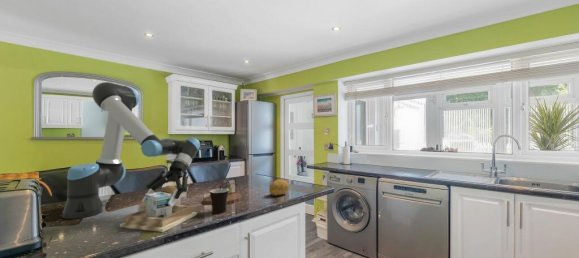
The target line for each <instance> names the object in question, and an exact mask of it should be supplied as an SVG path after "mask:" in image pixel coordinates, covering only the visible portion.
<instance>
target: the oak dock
mask: <svg viewBox="0 0 579 258" xmlns="http://www.w3.org/2000/svg"><path fill="white" fill-rule="evenodd" d="M193 208H194V207H193V206H191V205H179V204H174V205H173V207H172V214H171V215H169V216H166V217H164V218H154V217H146V208H144V209H141V210H138V211H136V212H132V213H129V214H126V215H125V217H124V218H125V221H124V222H123V223H120V224H119V228H125V229H134V230H140V231H141V230H144V231H151V232H152V231H153V232H161V233H163V232H165V231H167V230H169V229H171V228H174V227H175V226H177V225H179V224H181V223H184V222H185V221H188V220H189V219H191V218H193V217H195V216H197V215H198V212H197V211H193Z"/></svg>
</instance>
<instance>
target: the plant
mask: <svg viewBox="0 0 579 258" xmlns="http://www.w3.org/2000/svg"><path fill="white" fill-rule="evenodd" d="M225 183H226V180H225V179H223V180H222V182H221V184H219V185H217V186H216V187H215V189H228V199H227V205H231V204H233V205H234V204H235V203H238V202H240V200H241V197H242V193H238V192H236V191H235V192H234V191H233V192H231V191H232V185H230V184H228V185H225V186H224V184H225ZM228 187H229V188H228ZM230 189H231V190H230ZM203 204H204V205H211V206H212V204H211V196H210V194H209V195H208V196H207V195H206V196H205V197H203Z"/></svg>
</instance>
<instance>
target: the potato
mask: <svg viewBox="0 0 579 258" xmlns="http://www.w3.org/2000/svg"><path fill="white" fill-rule="evenodd" d="M268 190H269V194H270V195H272V196H276V197H277V196H278V195H279V196H282V195H284V194H285V193H287V192H288V190H289V182H287V181H286V180H284V179H278V178H277V179H276V180H274V181H273V182H272V183H271V184H270V185H269V188H268Z"/></svg>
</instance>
